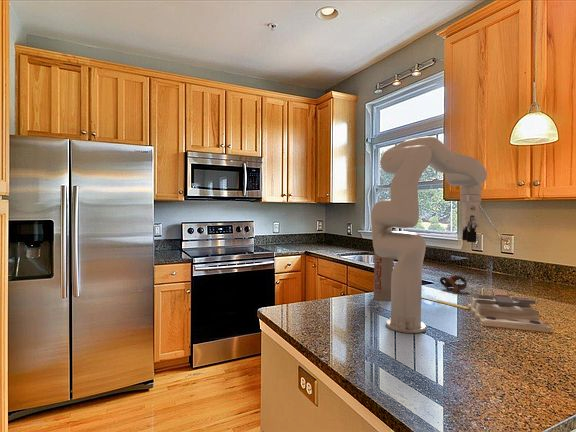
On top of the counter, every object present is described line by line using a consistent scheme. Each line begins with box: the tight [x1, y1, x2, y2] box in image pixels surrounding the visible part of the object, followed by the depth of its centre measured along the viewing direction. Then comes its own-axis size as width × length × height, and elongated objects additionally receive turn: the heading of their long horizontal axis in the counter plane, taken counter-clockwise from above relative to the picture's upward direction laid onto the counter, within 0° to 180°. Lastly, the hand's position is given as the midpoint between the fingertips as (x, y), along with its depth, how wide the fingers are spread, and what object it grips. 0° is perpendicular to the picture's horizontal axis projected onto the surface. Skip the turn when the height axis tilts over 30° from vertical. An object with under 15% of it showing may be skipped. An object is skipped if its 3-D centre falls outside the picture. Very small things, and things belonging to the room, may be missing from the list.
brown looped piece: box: [439, 274, 468, 293], centre depth 165 cm, size 12×10×8 cm
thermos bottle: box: [373, 250, 394, 302], centre depth 148 cm, size 8×8×28 cm
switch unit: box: [467, 296, 553, 333], centre depth 123 cm, size 22×20×5 cm
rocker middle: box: [492, 291, 514, 306], centre depth 125 cm, size 8×5×2 cm, turn 163°
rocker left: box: [473, 293, 495, 300], centre depth 127 cm, size 8×5×2 cm, turn 163°
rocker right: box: [511, 296, 536, 305], centre depth 123 cm, size 8×5×2 cm, turn 163°
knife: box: [421, 296, 470, 311], centre depth 147 cm, size 1×32×5 cm
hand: (468, 241), depth 138 cm, fingers open, 9 cm apart
